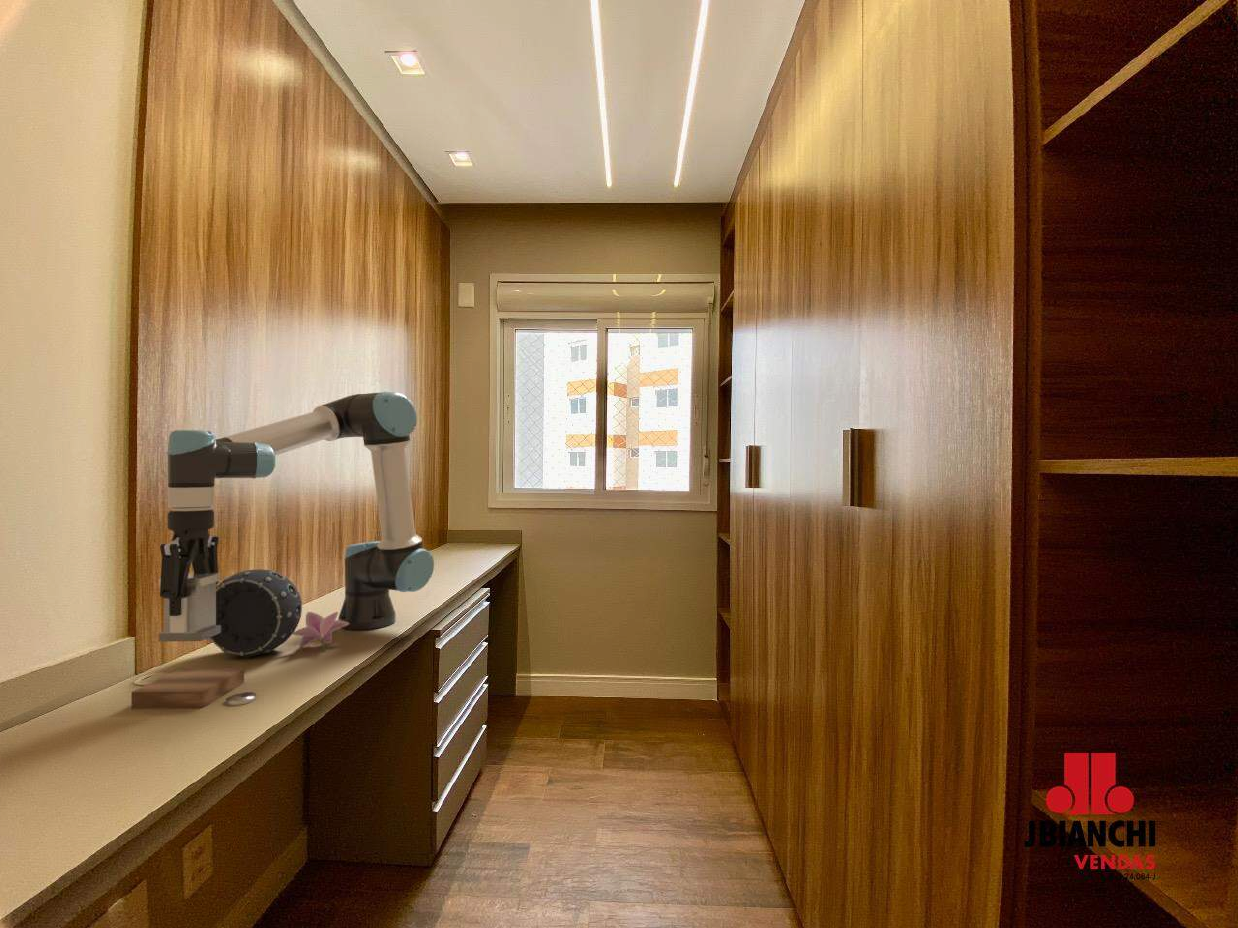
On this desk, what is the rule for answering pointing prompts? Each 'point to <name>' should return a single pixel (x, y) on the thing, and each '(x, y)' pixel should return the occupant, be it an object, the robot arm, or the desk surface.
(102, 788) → the desk surface
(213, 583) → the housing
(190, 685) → the walnut stand
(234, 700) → the domed puck
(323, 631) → the lily
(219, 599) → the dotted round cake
